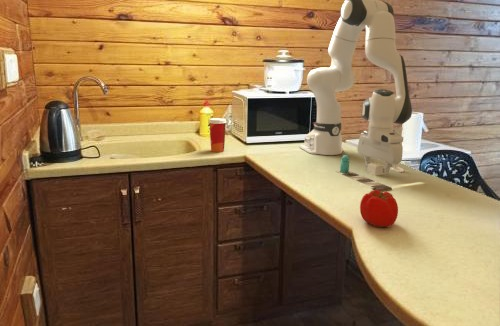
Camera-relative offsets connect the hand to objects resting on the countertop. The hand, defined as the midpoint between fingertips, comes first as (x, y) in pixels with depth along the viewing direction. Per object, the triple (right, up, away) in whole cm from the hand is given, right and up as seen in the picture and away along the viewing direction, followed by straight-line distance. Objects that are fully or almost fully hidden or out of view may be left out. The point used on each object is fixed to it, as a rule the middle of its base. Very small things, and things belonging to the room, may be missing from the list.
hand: (376, 170), depth 155 cm
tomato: (-14, -14, -45) cm, 49 cm away
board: (-8, -4, -7) cm, 11 cm away
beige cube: (0, -2, +1) cm, 2 cm away
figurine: (+9, 0, +8) cm, 12 cm away
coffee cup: (-63, +8, +37) cm, 74 cm away
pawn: (-12, -1, +1) cm, 12 cm away
